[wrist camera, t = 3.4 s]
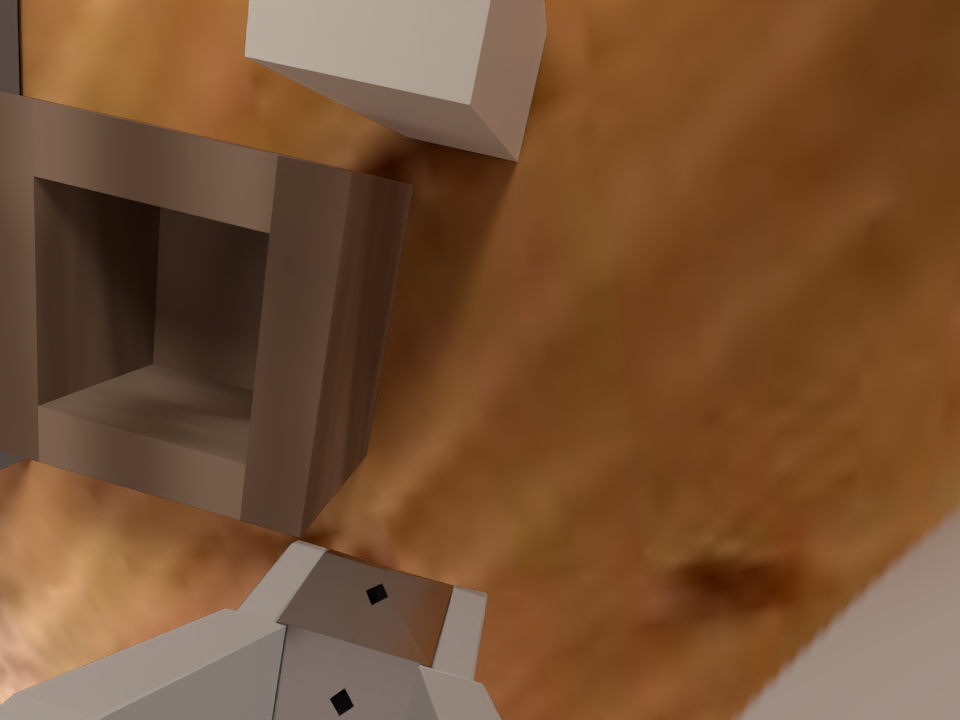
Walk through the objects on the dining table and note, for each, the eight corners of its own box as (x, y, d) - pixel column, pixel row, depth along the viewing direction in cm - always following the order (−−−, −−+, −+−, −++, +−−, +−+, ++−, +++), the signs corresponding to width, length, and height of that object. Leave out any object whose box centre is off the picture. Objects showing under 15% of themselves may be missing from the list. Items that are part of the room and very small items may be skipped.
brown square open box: (413, 184, 19) (352, 172, 14) (366, 455, 23) (299, 537, 17) (133, 120, 20) (-35, 83, 15) (125, 389, 23) (-16, 446, 18)
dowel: (546, 32, 17) (528, -192, 8) (517, 161, 18) (470, 104, 9) (427, 8, 18) (268, -235, 8) (406, 136, 19) (244, 56, 9)
